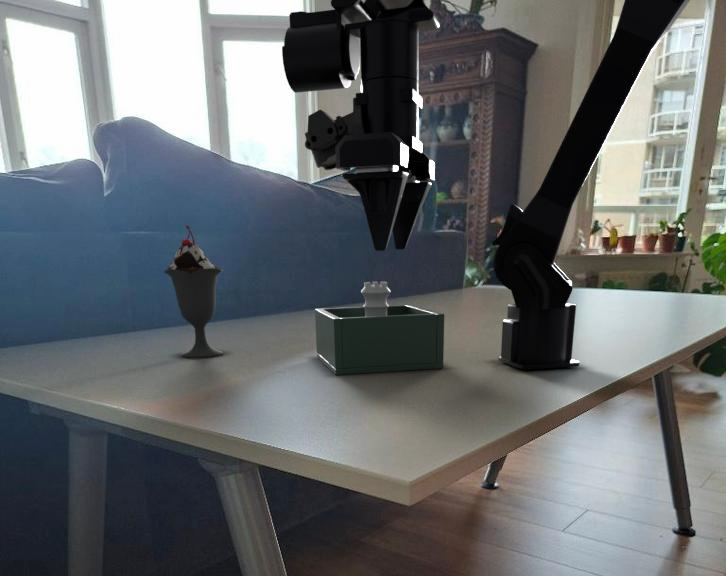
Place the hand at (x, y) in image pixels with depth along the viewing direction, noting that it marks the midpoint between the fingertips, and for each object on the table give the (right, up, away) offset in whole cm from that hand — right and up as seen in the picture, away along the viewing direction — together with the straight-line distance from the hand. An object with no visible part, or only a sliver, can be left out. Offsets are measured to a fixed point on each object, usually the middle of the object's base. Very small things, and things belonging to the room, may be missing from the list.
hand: (391, 250), depth 72 cm
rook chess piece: (-1, -11, +3) cm, 12 cm away
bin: (-1, -12, +3) cm, 12 cm away
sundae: (-23, -9, +11) cm, 27 cm away
